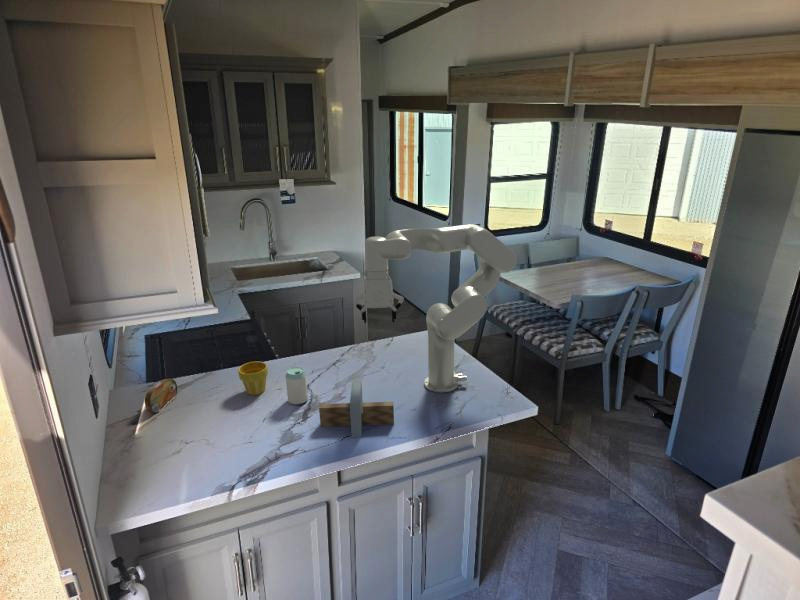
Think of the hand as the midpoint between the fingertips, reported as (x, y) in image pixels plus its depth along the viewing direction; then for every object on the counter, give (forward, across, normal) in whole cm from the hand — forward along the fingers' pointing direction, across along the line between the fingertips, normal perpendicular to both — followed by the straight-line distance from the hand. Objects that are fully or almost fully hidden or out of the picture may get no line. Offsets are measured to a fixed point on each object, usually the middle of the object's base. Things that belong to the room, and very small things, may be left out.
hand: (379, 321), depth 181 cm
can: (+28, -30, -3) cm, 41 cm away
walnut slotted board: (+28, -8, -19) cm, 35 cm away
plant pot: (+28, -47, +5) cm, 55 cm away
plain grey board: (+28, -8, -19) cm, 35 cm away
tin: (+29, -78, -3) cm, 83 cm away
